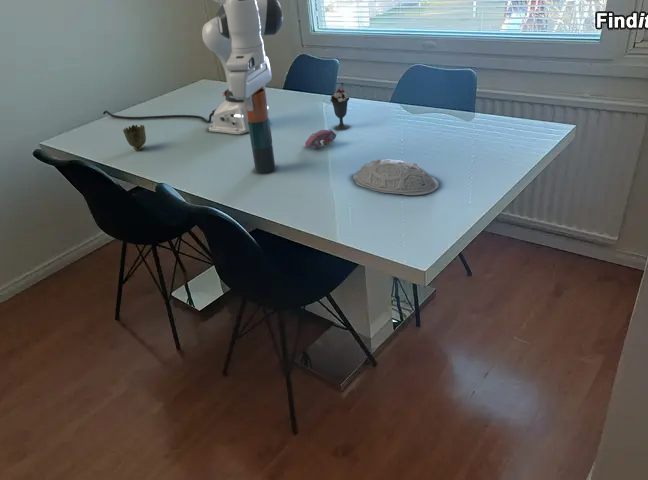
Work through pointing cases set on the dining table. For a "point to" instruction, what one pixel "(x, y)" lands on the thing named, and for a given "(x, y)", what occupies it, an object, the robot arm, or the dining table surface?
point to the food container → (395, 177)
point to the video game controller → (320, 138)
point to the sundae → (340, 107)
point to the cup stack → (262, 146)
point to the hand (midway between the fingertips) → (256, 106)
